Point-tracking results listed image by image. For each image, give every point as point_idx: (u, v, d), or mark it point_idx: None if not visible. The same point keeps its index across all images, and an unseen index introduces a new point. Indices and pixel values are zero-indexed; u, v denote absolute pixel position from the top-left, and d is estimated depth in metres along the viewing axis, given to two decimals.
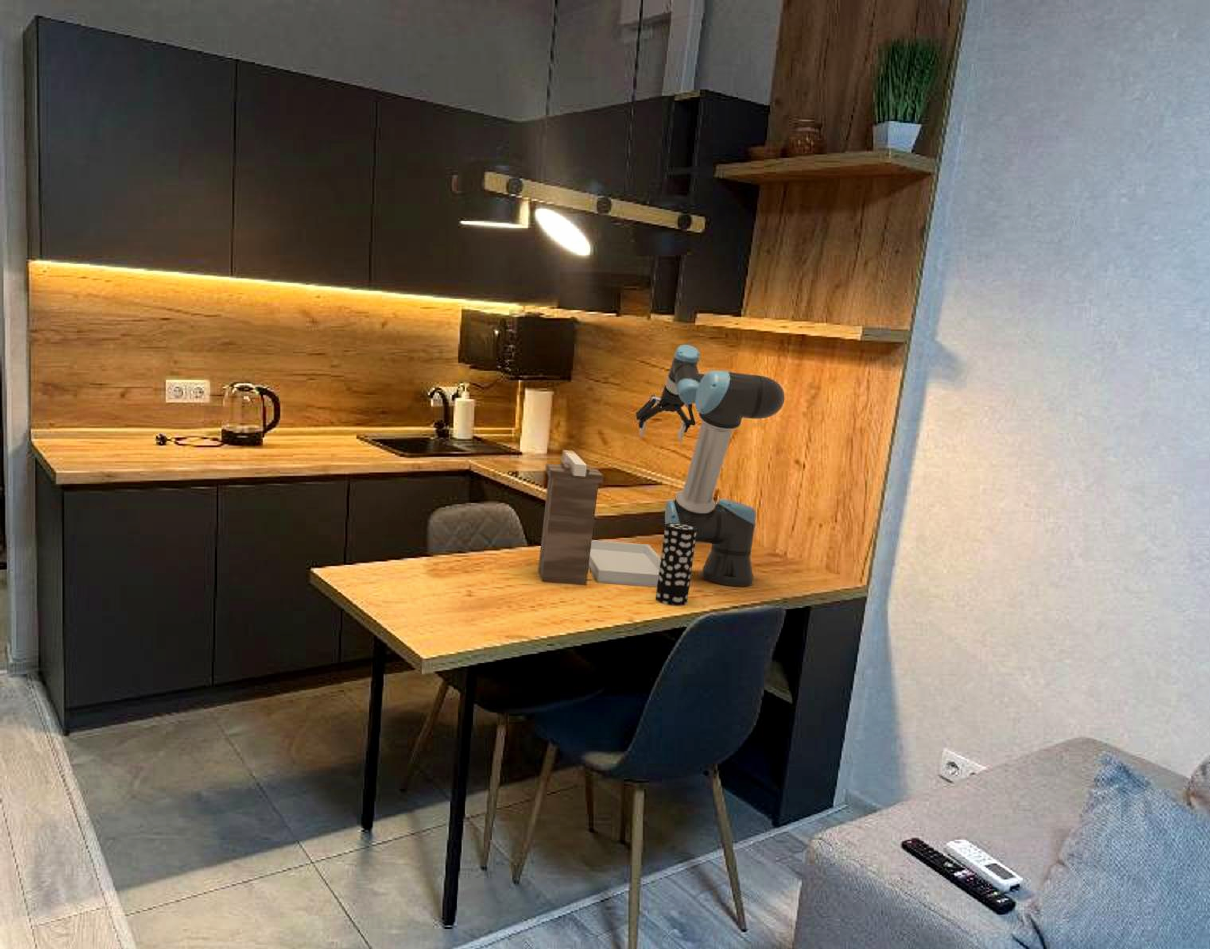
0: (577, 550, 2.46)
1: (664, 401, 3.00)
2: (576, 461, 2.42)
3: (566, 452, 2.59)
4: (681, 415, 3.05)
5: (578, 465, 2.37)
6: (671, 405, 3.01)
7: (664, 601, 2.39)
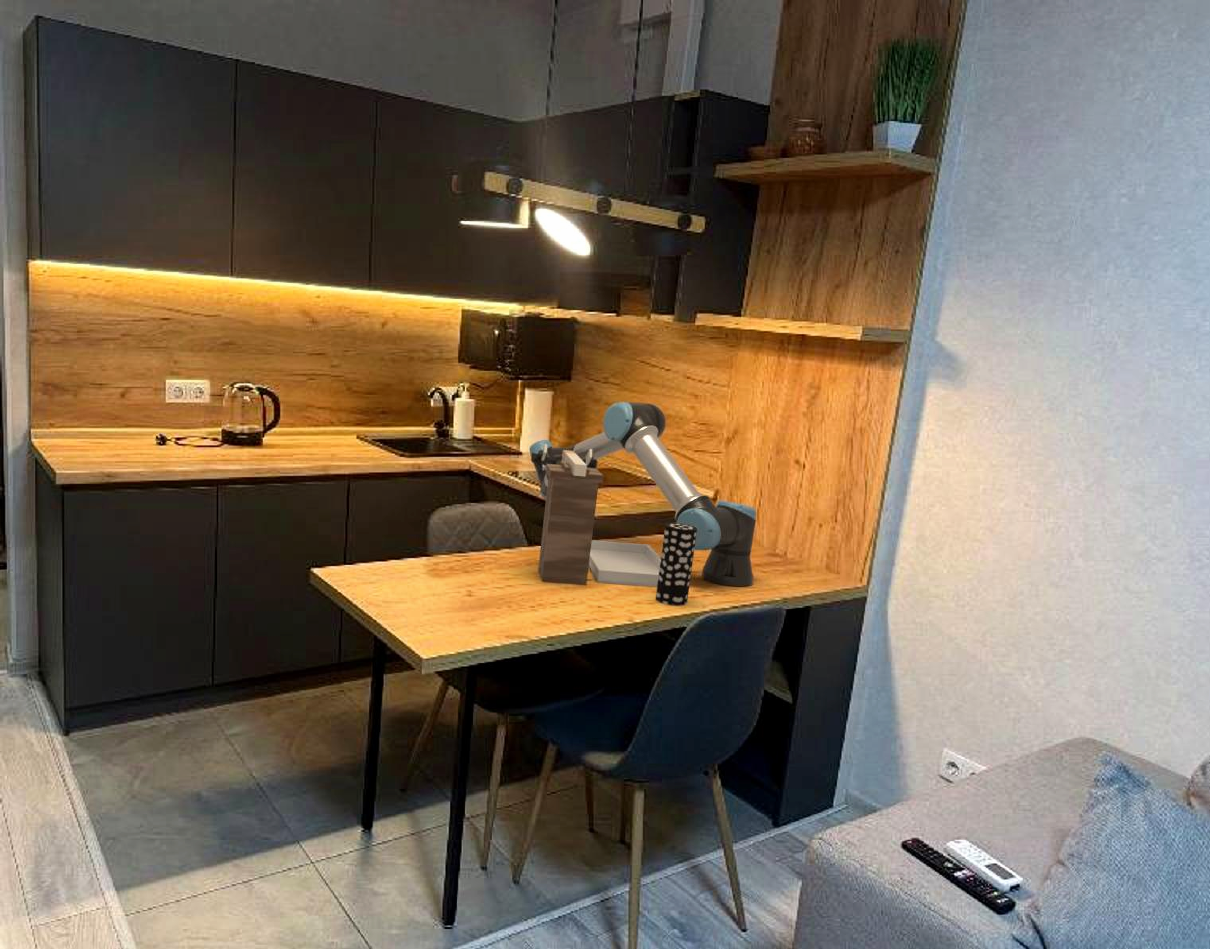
0: (577, 550, 2.46)
1: None
2: (576, 461, 2.42)
3: (566, 452, 2.59)
4: None
5: (578, 465, 2.37)
6: None
7: (664, 601, 2.39)
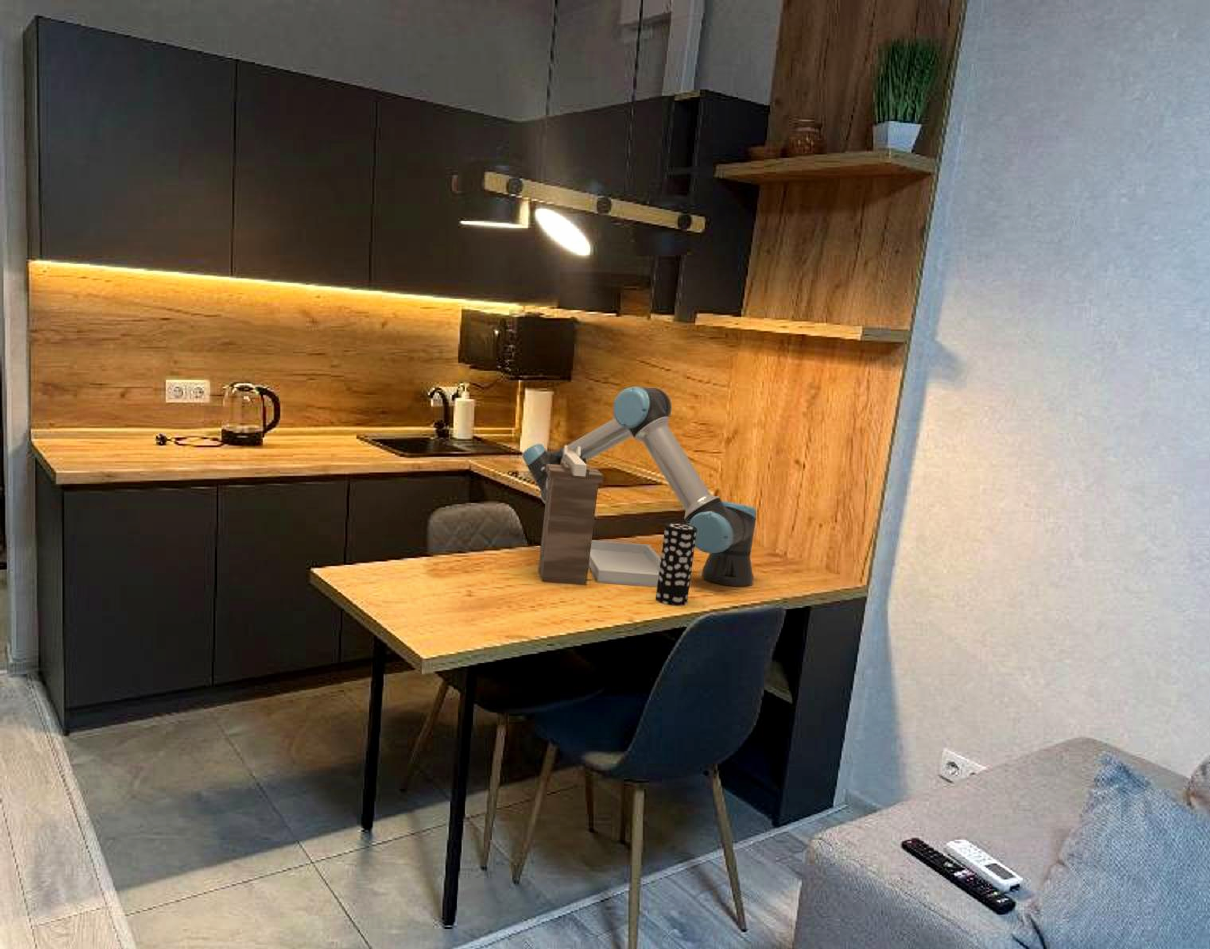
0: (577, 550, 2.46)
1: None
2: (576, 461, 2.42)
3: None
4: None
5: (578, 465, 2.37)
6: None
7: (664, 601, 2.39)
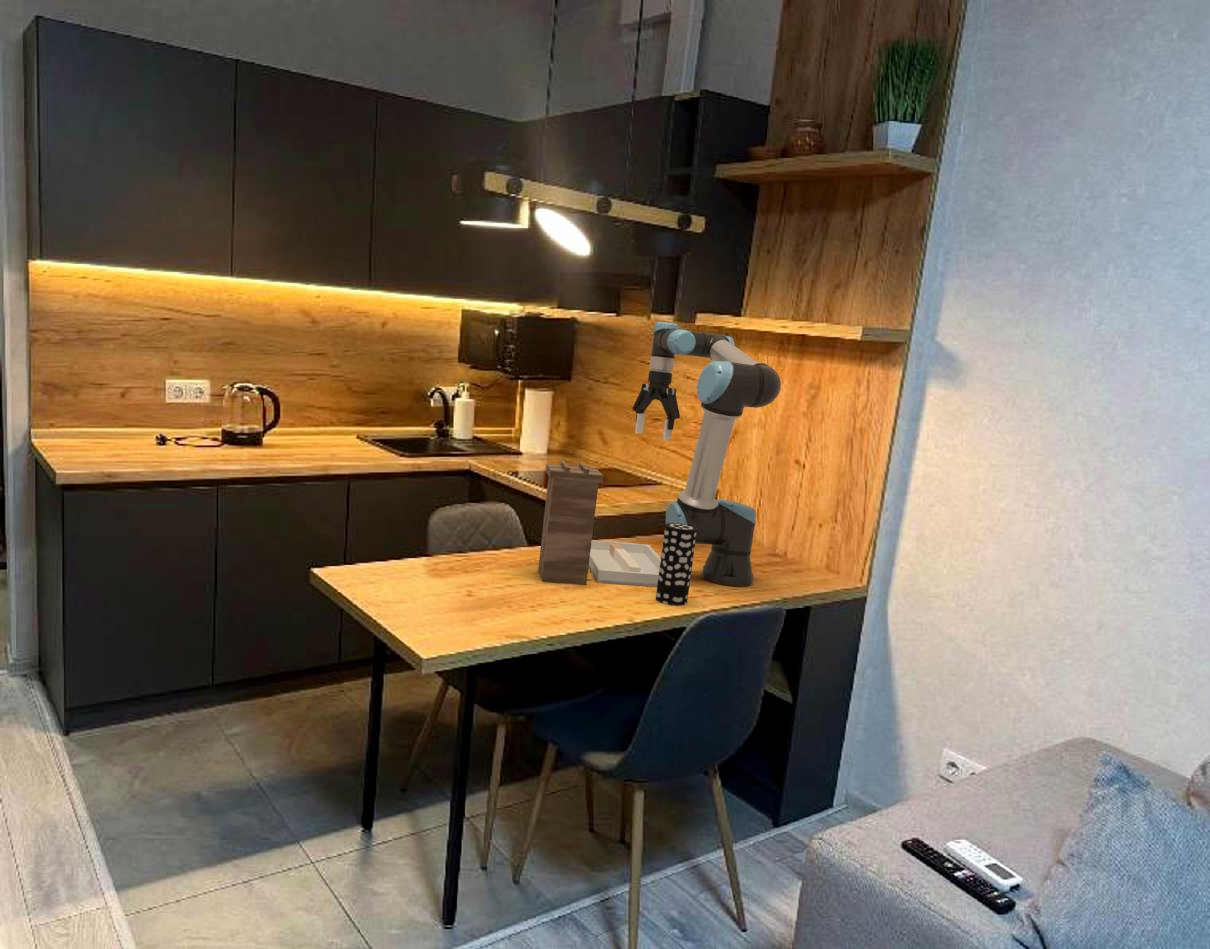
0: (577, 550, 2.46)
1: (650, 385, 2.98)
2: (629, 562, 2.64)
3: (615, 547, 2.80)
4: (663, 403, 2.93)
5: (632, 568, 2.58)
6: None
7: (664, 601, 2.39)
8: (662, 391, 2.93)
